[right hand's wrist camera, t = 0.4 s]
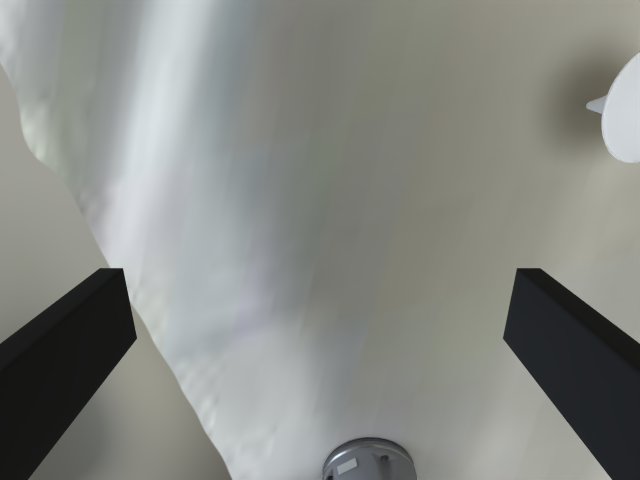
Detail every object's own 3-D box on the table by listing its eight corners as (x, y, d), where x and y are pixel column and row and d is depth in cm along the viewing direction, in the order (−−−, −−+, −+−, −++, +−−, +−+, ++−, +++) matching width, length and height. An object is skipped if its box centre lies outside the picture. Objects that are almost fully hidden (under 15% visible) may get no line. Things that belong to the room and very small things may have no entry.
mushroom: (650, 64, 42) (773, 48, 30) (606, 160, 45) (702, 178, 34) (563, 43, 41) (656, 18, 30) (525, 142, 44) (595, 154, 33)
